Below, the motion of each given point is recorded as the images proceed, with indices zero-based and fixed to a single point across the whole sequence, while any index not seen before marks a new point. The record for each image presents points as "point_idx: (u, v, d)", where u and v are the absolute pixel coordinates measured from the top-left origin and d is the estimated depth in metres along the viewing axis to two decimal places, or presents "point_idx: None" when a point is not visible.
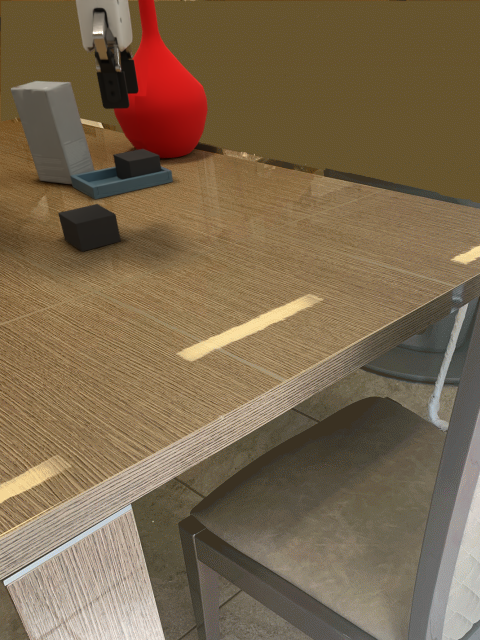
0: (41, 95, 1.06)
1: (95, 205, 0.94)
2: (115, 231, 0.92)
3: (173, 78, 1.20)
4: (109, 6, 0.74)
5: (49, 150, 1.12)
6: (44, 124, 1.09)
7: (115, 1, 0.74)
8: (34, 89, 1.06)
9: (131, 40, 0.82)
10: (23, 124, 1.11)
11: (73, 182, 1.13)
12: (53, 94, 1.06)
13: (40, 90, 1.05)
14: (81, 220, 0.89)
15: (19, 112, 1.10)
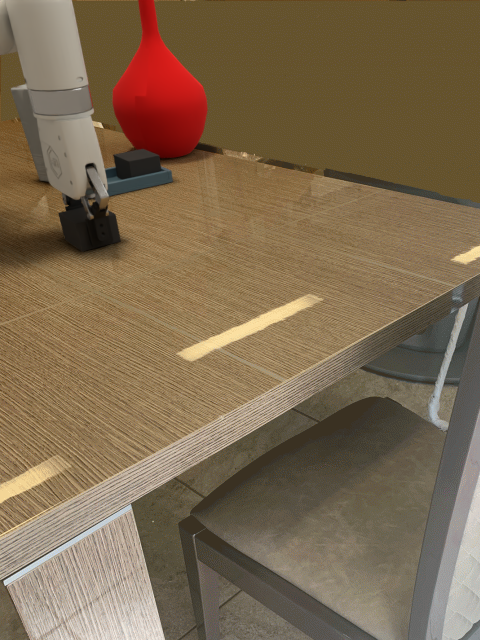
0: None
1: None
2: (115, 231, 0.92)
3: (173, 78, 1.20)
4: (98, 160, 0.84)
5: None
6: None
7: (101, 155, 0.84)
8: None
9: None
10: (23, 124, 1.11)
11: None
12: None
13: None
14: (81, 220, 0.89)
15: (19, 112, 1.10)
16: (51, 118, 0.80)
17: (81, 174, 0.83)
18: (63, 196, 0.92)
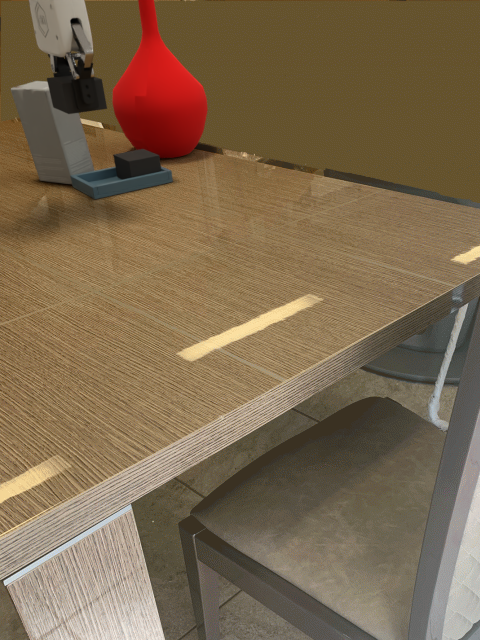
0: (41, 95, 1.06)
1: None
2: (101, 97, 0.95)
3: (173, 78, 1.20)
4: (83, 16, 0.87)
5: (49, 150, 1.12)
6: (44, 124, 1.09)
7: (86, 11, 0.87)
8: (34, 89, 1.06)
9: None
10: (23, 124, 1.11)
11: (73, 182, 1.13)
12: None
13: (40, 90, 1.05)
14: (68, 81, 0.92)
15: (19, 112, 1.10)
16: None
17: (66, 28, 0.86)
18: (51, 62, 0.95)
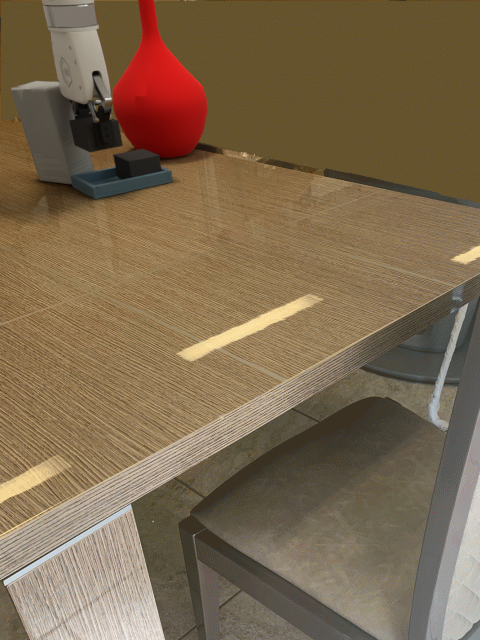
0: (41, 95, 1.06)
1: None
2: (118, 136, 1.08)
3: (173, 78, 1.20)
4: (102, 69, 1.00)
5: (49, 150, 1.12)
6: (44, 124, 1.09)
7: (105, 64, 1.00)
8: (34, 89, 1.06)
9: None
10: (23, 124, 1.11)
11: (73, 182, 1.13)
12: (53, 94, 1.06)
13: (40, 90, 1.05)
14: (89, 124, 1.05)
15: (19, 112, 1.10)
16: (63, 30, 0.96)
17: (88, 80, 0.99)
18: (73, 106, 1.08)
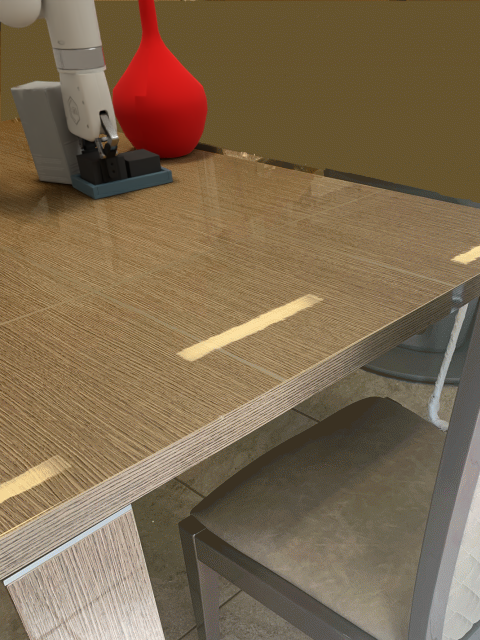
0: (41, 95, 1.06)
1: None
2: (123, 171, 1.11)
3: (173, 78, 1.20)
4: (109, 108, 1.03)
5: (49, 150, 1.12)
6: (44, 124, 1.09)
7: (112, 104, 1.03)
8: (34, 89, 1.06)
9: None
10: (23, 124, 1.11)
11: (73, 182, 1.13)
12: (53, 94, 1.06)
13: (40, 90, 1.05)
14: (95, 159, 1.08)
15: (19, 112, 1.10)
16: (72, 72, 0.99)
17: (96, 119, 1.02)
18: (80, 141, 1.11)
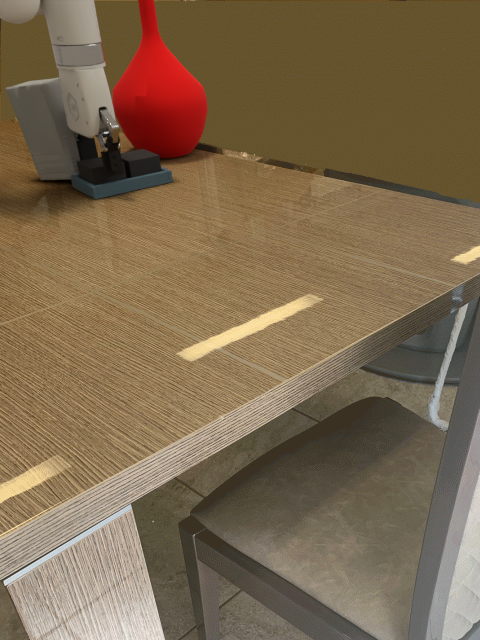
0: (36, 90, 1.06)
1: None
2: (123, 177, 1.12)
3: (173, 78, 1.20)
4: (109, 105, 1.03)
5: (48, 147, 1.12)
6: (41, 119, 1.09)
7: (111, 100, 1.03)
8: (29, 85, 1.06)
9: None
10: (20, 123, 1.11)
11: (73, 182, 1.13)
12: (48, 88, 1.07)
13: (35, 85, 1.06)
14: (96, 166, 1.09)
15: (16, 111, 1.10)
16: (71, 68, 0.99)
17: (95, 116, 1.02)
18: (75, 132, 1.11)
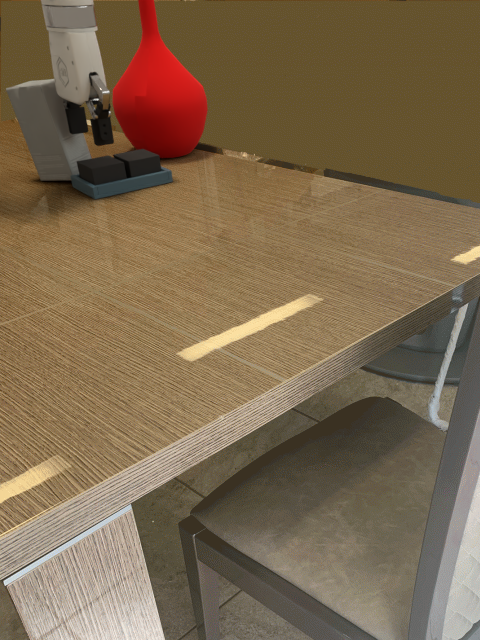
0: (37, 91, 1.06)
1: (107, 156, 1.14)
2: (123, 177, 1.12)
3: (173, 78, 1.20)
4: (99, 70, 1.00)
5: (48, 148, 1.12)
6: (41, 120, 1.09)
7: (102, 66, 1.00)
8: (29, 86, 1.06)
9: None
10: (21, 124, 1.11)
11: (73, 182, 1.13)
12: (49, 89, 1.07)
13: (35, 86, 1.06)
14: (96, 166, 1.09)
15: (16, 112, 1.10)
16: (61, 30, 0.96)
17: (85, 81, 0.99)
18: (64, 100, 1.08)
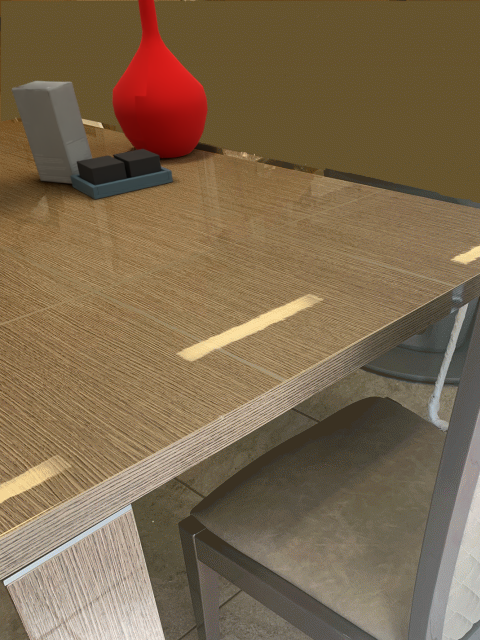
0: (44, 95, 1.06)
1: (107, 156, 1.14)
2: (123, 177, 1.12)
3: (173, 78, 1.20)
4: None
5: (51, 150, 1.12)
6: (46, 123, 1.09)
7: None
8: (36, 89, 1.06)
9: None
10: (24, 124, 1.11)
11: (73, 182, 1.13)
12: (56, 93, 1.07)
13: (43, 90, 1.06)
14: (96, 166, 1.09)
15: (20, 112, 1.10)
16: None
17: None
18: None
